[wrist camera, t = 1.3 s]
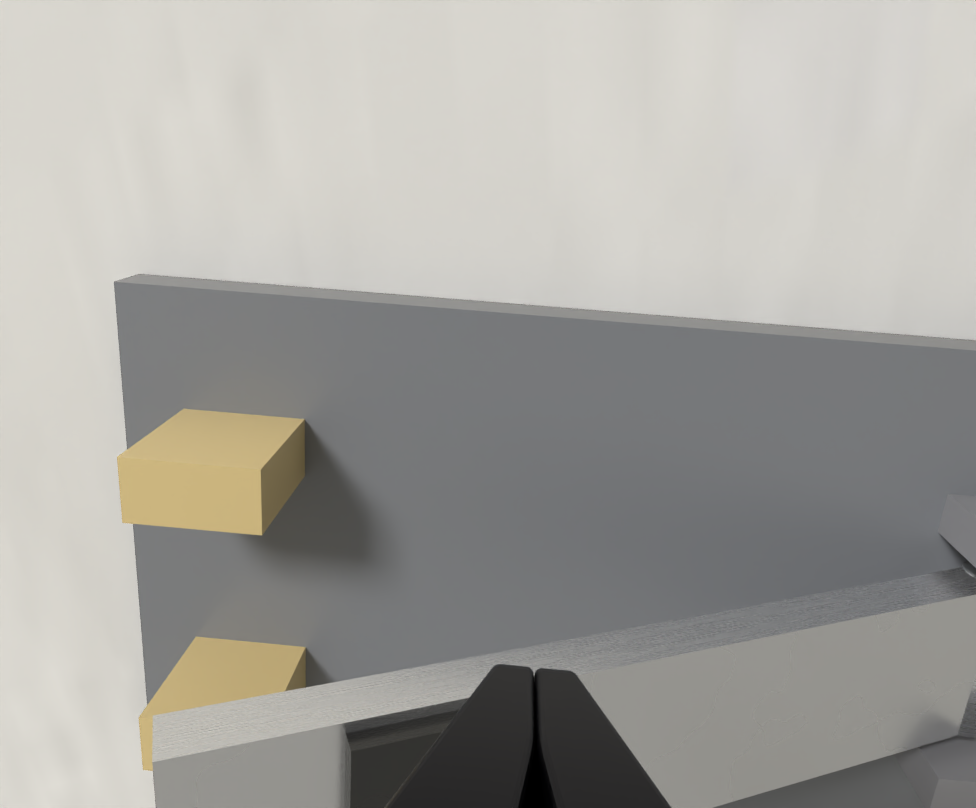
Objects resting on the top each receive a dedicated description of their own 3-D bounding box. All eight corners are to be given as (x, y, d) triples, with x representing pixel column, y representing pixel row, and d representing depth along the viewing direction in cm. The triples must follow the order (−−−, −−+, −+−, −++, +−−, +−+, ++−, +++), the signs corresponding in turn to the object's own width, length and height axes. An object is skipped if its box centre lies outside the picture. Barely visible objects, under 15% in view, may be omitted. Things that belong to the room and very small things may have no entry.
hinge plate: (1131, 352, 19) (1302, 411, 14) (977, 817, 23) (1074, 966, 19) (138, 274, 19) (29, 307, 15) (170, 736, 24) (92, 860, 20)
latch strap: (990, 556, 19) (1056, 590, 18) (948, 694, 20) (1007, 736, 19) (153, 707, 12) (151, 783, 11) (167, 901, 13) (168, 992, 12)
